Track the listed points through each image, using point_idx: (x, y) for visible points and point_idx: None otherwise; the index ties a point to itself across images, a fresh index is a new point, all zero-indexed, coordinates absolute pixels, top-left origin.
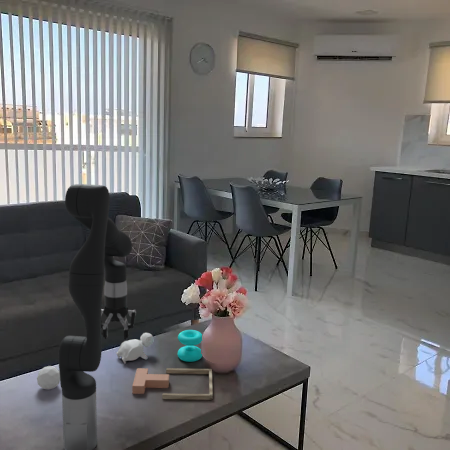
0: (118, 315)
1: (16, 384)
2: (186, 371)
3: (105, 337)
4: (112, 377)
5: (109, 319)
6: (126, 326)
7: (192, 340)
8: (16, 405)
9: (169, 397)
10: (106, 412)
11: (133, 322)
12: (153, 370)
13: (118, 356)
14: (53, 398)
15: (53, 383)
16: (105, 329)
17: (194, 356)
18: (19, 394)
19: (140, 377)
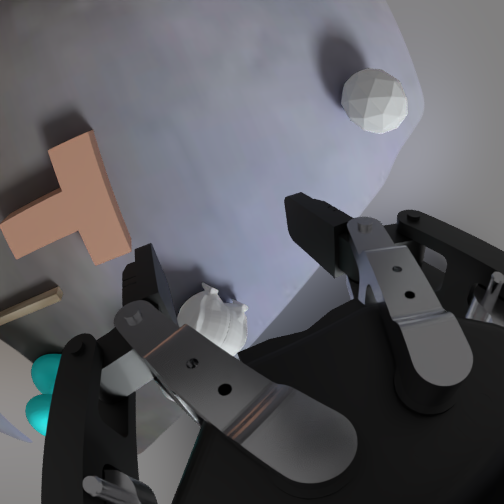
0: (310, 430)
1: (411, 106)
2: (13, 309)
3: (300, 196)
4: (204, 197)
5: (398, 292)
6: (133, 332)
7: (32, 409)
8: (380, 23)
9: None
10: (138, 6)
11: (57, 401)
12: (100, 285)
13: (236, 301)
14: (324, 48)
15: (354, 76)
16: (343, 223)
17: (35, 370)
18: (394, 66)
19: (86, 199)
